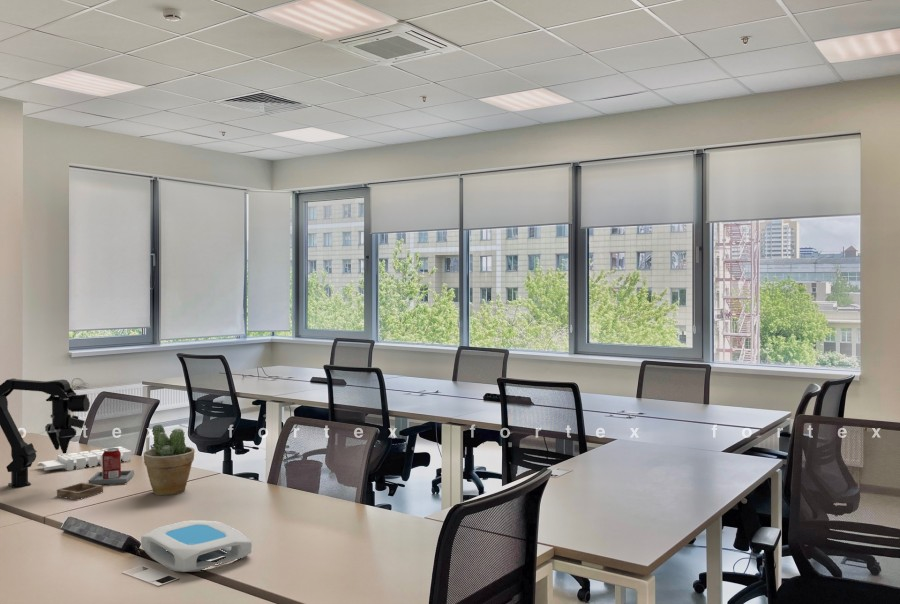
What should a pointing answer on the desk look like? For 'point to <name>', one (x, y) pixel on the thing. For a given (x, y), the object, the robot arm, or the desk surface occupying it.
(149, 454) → the potted plant
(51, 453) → the desk surface
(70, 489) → the square frame
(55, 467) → the organizer
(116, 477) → the soda can
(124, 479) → the tray
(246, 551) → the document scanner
